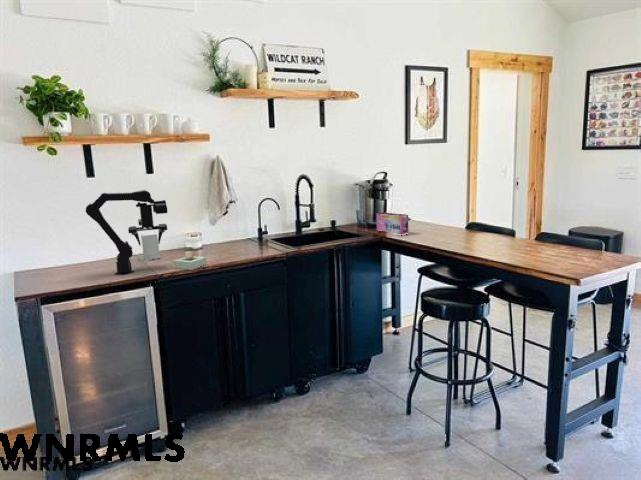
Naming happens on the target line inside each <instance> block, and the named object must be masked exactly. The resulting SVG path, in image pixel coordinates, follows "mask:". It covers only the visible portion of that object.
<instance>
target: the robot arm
mask: <svg viewBox="0 0 641 480" xmlns="http://www.w3.org/2000/svg"><path fill="white" fill-rule="evenodd" d="M115 201H118V202H119V201H135V202H137V204H135V208H139V214H140V218H138V220H137V222H138V226H139V227H137V226H136V225H133V226H132V225H131V226H129V227H128V229H127V230H128V234H131V236H134V237H135V239H136V241H137V243H138V246H139V247H141V245H142V243H141V240H140V236H139V232H141V231H142V232H143V231H152V230H153V231H155V230H158V233H157V238H158V245H160V243H161V240H162V236H163V234H164V233H165V232H166V231H168V225H167V224H166V223H159V224H158V225H154V217H153V213H155V215H160V214H161V215H163V214H168V206H167V201H166V200H165V199H163V200H154V199H153V198H152V195H151V193H150V192H149V191H148V190H146V189H142V190H137V191H132V192H109V193H108V192H103V193H101V194H100V195H99V196H98V198H96V199H95V200H94V201H93V202H92V203H89V204H87V205H86V207H85V213H86V215H88V216H89V217H90V218H91V219H92V220H93V221H95V223H97V224H98V225H99V227H100V228H101V229H102V230H103V231H104V233H105V234H106V235H107V237H108V238H109V239H110V240H111V241H112V242H113V244H114V245H115V247H116V248H117V249H116V250H117V251H118V252H119V253H118V254H117V255H116V262H115V264H116V272H115V275H127V274H130V273H133V272H135V271H134V270H132V262H131V259H130V258H132V257H133V254H134V253H133V247H132V245H130V244H129V242H128V241H127V240H126V241H124V240H122V238H120V236H119V235H118V233H116V231H115V230H114V229H113V228H112V226H111V225H110V223H109V222H108V221H107V220H106V219H105V217H104V215H103V213H102V211H101V210H100V209H101V208H102V206H103V205H105V204H106V202H115ZM147 203H149V204H147Z"/></svg>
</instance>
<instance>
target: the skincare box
mask: <svg viewBox="0 0 641 480" xmlns="http://www.w3.org/2000/svg"><path fill="white" fill-rule="evenodd" d="M140 238H141V240H140V241H141V245H142V254H143V260H144V261H146V260H149V261H153V260H152V259H155V260H159V259H158V258H160V259H161V255H160V254H161V253H160V247H159V243H158V233H156V232H151V233H143V234H140Z"/></svg>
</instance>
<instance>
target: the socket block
mask: <svg viewBox="0 0 641 480" xmlns="http://www.w3.org/2000/svg"><path fill="white" fill-rule="evenodd" d="M207 261H208V260H207V257H206V256H194V260H192V261H186V258H185V256H184V257H181V258H178V259H176V260H175V259H174V260H173V261H172V262H173V263H172V264H173V269H175V268H181V269H180V270H187V269H188V270H190V271H193V270H196V269H199V268H201V267H200V266H202V267H204V266H206V265H205V264H208V263H207ZM203 265H204V266H203ZM198 267H199V268H198Z"/></svg>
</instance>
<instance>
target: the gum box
mask: <svg viewBox="0 0 641 480" xmlns="http://www.w3.org/2000/svg"><path fill="white" fill-rule="evenodd" d="M377 230H378V231H385V232H391V233H397V234H405V233H410V231H409V230H410V229H409V214H405V213H404V214H403V213H391V212H380V213H376V231H377Z"/></svg>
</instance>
